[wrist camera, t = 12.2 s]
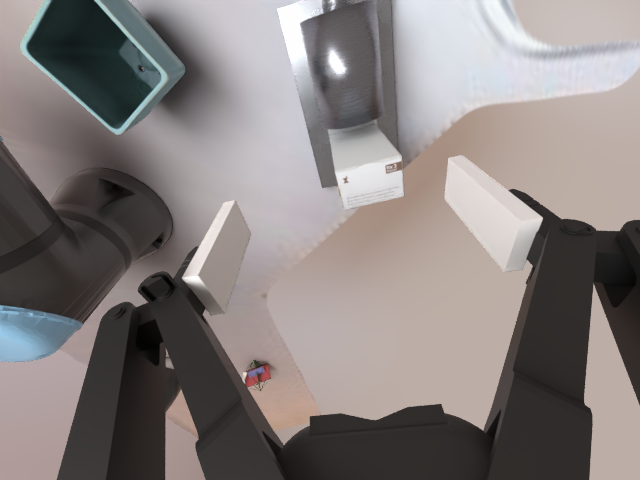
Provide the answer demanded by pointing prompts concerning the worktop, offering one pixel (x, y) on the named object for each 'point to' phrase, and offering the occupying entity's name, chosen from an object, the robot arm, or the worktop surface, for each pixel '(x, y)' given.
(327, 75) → the motor
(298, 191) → the worktop surface
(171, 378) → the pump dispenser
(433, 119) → the worktop surface
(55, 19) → the flower pot
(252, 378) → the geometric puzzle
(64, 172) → the worktop surface
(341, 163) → the skincare box
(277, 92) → the worktop surface
